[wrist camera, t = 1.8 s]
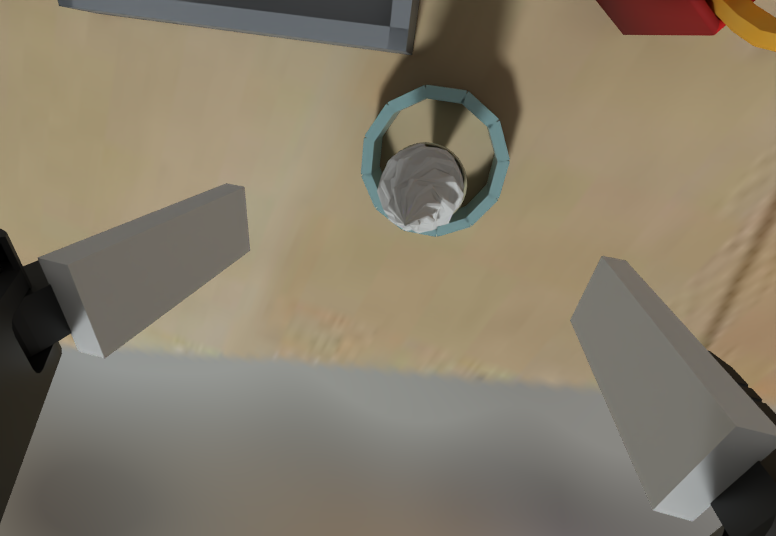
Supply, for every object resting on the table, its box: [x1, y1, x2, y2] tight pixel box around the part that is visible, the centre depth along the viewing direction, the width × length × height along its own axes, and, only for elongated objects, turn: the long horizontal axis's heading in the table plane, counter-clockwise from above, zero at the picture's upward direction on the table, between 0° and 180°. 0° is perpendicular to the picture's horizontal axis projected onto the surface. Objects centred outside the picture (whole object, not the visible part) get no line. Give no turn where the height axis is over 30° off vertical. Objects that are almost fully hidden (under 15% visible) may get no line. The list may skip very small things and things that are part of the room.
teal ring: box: [361, 85, 510, 237], centre depth 26 cm, size 11×11×3 cm
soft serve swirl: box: [377, 142, 467, 233], centre depth 21 cm, size 5×5×15 cm
